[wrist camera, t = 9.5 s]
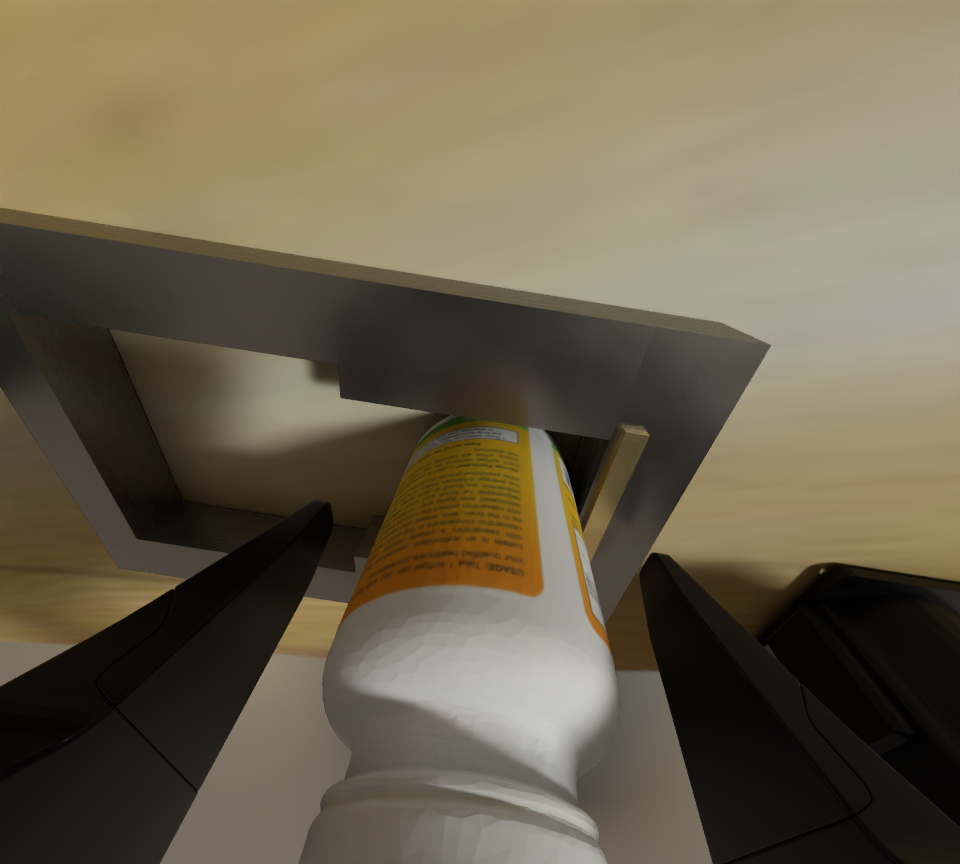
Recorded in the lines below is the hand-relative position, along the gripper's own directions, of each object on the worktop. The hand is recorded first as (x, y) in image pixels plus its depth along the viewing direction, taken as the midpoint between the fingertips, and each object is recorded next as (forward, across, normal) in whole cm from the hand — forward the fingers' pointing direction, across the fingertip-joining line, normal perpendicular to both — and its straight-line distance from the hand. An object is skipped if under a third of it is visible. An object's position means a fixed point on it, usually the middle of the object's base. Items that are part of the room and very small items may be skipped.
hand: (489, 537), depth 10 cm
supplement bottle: (+3, 0, 0) cm, 3 cm away
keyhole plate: (+3, +4, 0) cm, 5 cm away
